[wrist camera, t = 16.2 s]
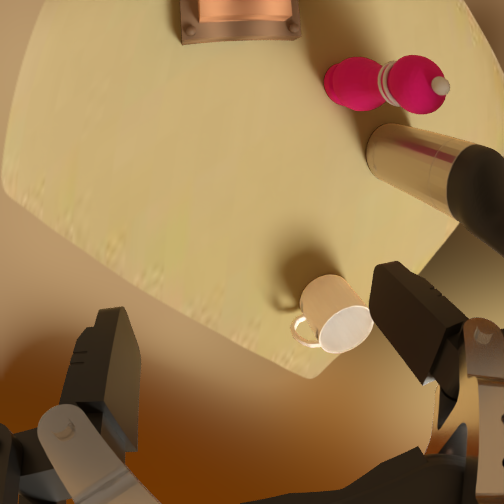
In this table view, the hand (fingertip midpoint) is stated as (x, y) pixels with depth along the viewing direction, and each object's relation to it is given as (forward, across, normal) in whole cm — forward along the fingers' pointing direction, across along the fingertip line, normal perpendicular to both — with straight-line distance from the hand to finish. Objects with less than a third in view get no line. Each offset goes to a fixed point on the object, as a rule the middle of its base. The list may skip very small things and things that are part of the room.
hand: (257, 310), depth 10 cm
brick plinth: (+33, -6, -21) cm, 40 cm away
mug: (+33, -16, +26) cm, 45 cm away
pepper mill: (+33, -20, -8) cm, 40 cm away
